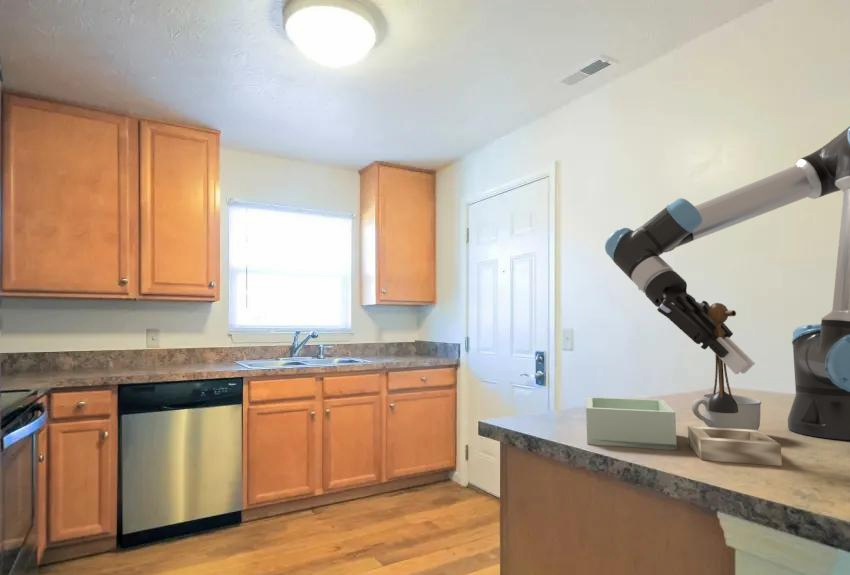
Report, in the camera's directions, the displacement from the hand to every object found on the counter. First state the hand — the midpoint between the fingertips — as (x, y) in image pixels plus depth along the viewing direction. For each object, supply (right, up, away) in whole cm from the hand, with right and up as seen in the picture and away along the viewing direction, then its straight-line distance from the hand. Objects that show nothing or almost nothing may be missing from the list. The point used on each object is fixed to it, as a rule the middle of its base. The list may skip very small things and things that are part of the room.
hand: (745, 368), depth 89 cm
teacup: (+7, -17, +18) cm, 26 cm away
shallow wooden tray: (-1, -16, +2) cm, 16 cm away
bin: (-15, -17, +15) cm, 27 cm away
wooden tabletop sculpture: (-2, -9, +3) cm, 9 cm away
